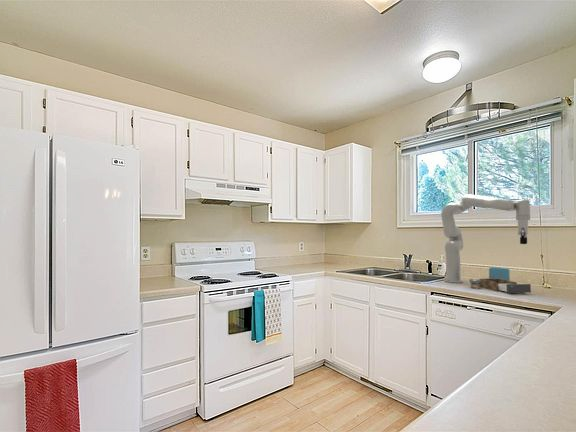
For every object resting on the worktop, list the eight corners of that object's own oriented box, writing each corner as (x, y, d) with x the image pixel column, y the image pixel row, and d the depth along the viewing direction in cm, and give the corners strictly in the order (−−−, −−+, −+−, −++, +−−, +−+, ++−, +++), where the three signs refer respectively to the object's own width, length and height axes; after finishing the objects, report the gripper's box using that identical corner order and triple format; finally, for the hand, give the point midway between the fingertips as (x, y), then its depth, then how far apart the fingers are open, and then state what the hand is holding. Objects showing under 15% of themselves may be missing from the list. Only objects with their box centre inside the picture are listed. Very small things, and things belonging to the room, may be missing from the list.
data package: (509, 284, 222) (509, 268, 222) (509, 285, 218) (508, 268, 219) (489, 283, 229) (489, 266, 230) (489, 283, 226) (488, 267, 226)
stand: (469, 287, 212) (469, 282, 212) (476, 287, 213) (475, 282, 213) (474, 288, 208) (474, 283, 208) (481, 288, 208) (480, 283, 208)
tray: (530, 292, 191) (530, 284, 191) (508, 292, 189) (508, 284, 189) (509, 287, 207) (509, 279, 207) (488, 287, 205) (488, 280, 206)
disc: (467, 281, 213) (467, 278, 213) (476, 281, 214) (476, 278, 214) (473, 283, 207) (473, 280, 207) (483, 283, 207) (483, 280, 207)
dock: (517, 290, 200) (516, 282, 200) (497, 291, 199) (496, 282, 199) (498, 286, 216) (497, 278, 216) (479, 286, 215) (479, 278, 215)
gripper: (517, 218, 215) (517, 243, 214) (514, 217, 202) (515, 244, 201) (530, 218, 210) (531, 243, 209) (529, 217, 197) (530, 244, 196)
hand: (523, 243), depth 205 cm, fingers open, 9 cm apart
